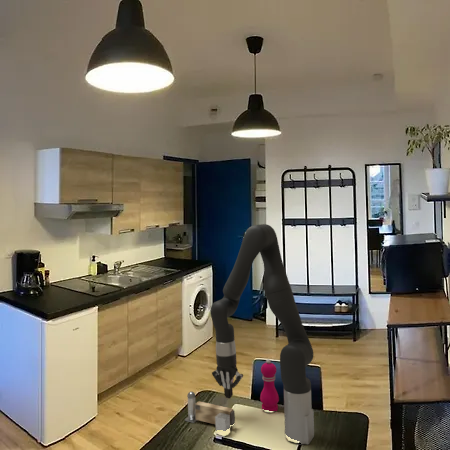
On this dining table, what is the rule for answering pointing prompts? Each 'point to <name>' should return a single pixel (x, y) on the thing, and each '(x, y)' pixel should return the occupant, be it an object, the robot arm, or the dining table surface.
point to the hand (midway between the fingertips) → (228, 397)
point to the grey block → (222, 421)
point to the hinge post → (191, 408)
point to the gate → (212, 412)
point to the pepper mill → (269, 387)
